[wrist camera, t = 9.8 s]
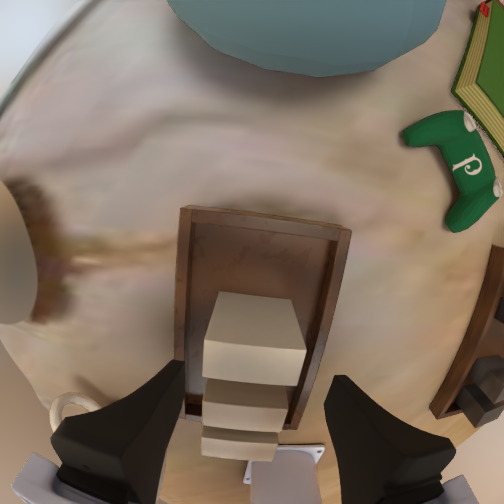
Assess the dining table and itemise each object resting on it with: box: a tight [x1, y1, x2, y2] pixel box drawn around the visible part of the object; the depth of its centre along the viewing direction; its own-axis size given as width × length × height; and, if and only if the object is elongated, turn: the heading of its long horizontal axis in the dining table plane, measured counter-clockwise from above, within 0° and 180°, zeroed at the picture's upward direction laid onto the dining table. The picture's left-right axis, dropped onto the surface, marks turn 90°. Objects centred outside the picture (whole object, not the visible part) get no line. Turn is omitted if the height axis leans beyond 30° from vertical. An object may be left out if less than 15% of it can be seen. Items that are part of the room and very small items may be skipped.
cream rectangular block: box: [202, 291, 307, 386], centre depth 16 cm, size 2×5×6 cm, turn 83°
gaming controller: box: [402, 110, 503, 233], centre depth 16 cm, size 9×4×6 cm
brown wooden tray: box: [174, 205, 352, 462], centre depth 17 cm, size 18×11×7 cm, turn 173°
